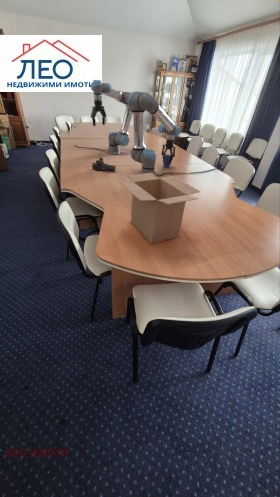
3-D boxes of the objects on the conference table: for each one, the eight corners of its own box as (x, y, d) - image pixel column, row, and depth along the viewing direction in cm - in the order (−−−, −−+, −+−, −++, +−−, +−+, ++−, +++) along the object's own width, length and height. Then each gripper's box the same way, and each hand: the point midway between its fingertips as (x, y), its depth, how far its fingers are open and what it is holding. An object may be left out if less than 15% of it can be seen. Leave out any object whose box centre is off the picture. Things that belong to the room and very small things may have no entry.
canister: (161, 166, 233) (163, 154, 226) (165, 165, 237) (167, 153, 231) (166, 168, 229) (168, 156, 223) (171, 167, 234) (172, 155, 227)
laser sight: (113, 173, 208) (113, 162, 203) (90, 170, 211) (89, 159, 205) (116, 170, 216) (116, 159, 210) (94, 167, 219) (93, 157, 213)
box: (200, 241, 124) (213, 195, 108) (145, 257, 109) (150, 207, 93) (159, 208, 154) (164, 169, 138) (112, 217, 139) (111, 174, 123)
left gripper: (91, 100, 201) (93, 126, 213) (109, 100, 218) (110, 124, 230) (85, 99, 204) (87, 125, 216) (103, 99, 221) (104, 123, 233)
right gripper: (181, 140, 217) (177, 164, 230) (163, 137, 225) (160, 160, 238) (177, 141, 211) (174, 165, 225) (159, 137, 219) (156, 161, 233)
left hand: (99, 125), depth 223 cm, fingers open, 13 cm apart
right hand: (166, 163), depth 231 cm, fingers closed on canister, 7 cm apart
